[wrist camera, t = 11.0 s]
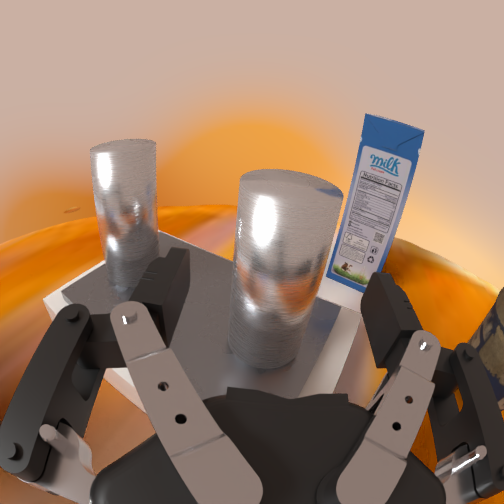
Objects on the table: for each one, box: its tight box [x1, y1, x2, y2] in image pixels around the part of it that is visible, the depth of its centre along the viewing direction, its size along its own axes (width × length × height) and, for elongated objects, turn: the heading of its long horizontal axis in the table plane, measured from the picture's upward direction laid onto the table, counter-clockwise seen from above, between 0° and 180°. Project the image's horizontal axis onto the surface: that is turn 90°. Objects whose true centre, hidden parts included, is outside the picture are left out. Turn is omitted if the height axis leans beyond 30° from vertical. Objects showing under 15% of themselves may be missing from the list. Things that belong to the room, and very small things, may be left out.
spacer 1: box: [90, 139, 160, 287], centre depth 21 cm, size 5×5×11 cm
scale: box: [43, 230, 362, 414], centre depth 24 cm, size 24×17×4 cm
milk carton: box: [326, 114, 424, 293], centre depth 32 cm, size 10×6×20 cm, turn 146°
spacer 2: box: [228, 169, 343, 369], centre depth 16 cm, size 5×5×11 cm
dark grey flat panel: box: [61, 231, 342, 400], centre depth 22 cm, size 20×13×1 cm, turn 61°
